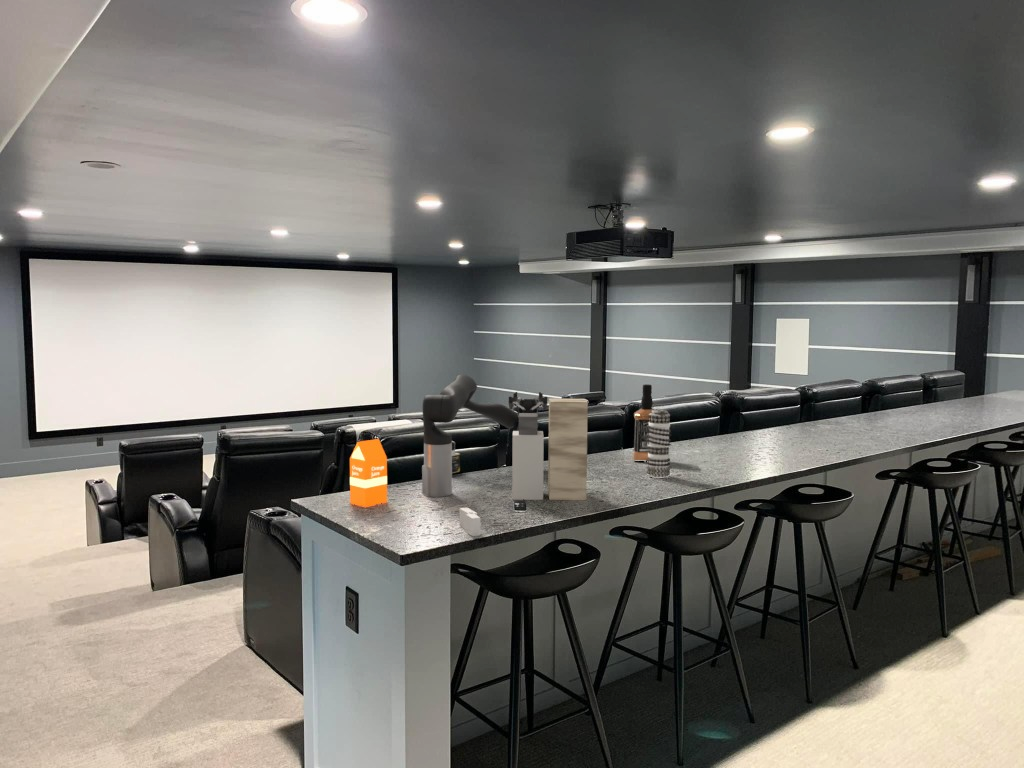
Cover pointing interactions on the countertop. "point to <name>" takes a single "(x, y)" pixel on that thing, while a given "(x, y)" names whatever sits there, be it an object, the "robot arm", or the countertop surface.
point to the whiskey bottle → (642, 425)
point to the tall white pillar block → (527, 466)
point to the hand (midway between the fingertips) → (528, 394)
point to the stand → (567, 449)
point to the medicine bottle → (455, 460)
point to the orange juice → (368, 474)
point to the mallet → (527, 423)
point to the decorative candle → (658, 443)
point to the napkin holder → (470, 521)
